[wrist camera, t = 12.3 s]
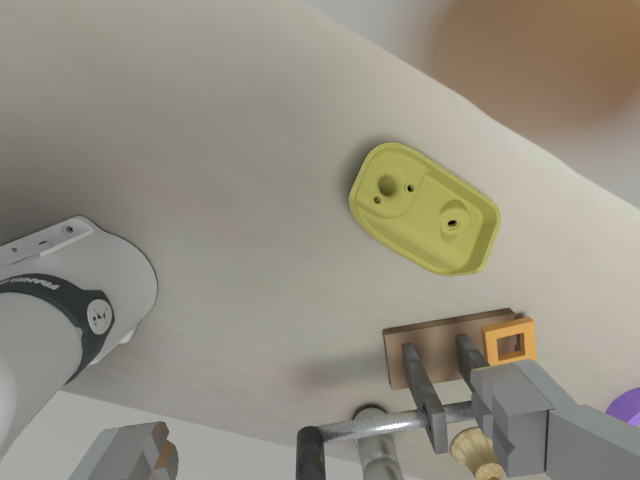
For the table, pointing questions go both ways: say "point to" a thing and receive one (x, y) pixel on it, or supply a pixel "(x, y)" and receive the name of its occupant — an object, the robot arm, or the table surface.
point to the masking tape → (626, 407)
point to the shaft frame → (440, 360)
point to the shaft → (363, 434)
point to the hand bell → (476, 454)
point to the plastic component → (423, 211)
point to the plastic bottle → (377, 452)
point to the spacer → (507, 329)
